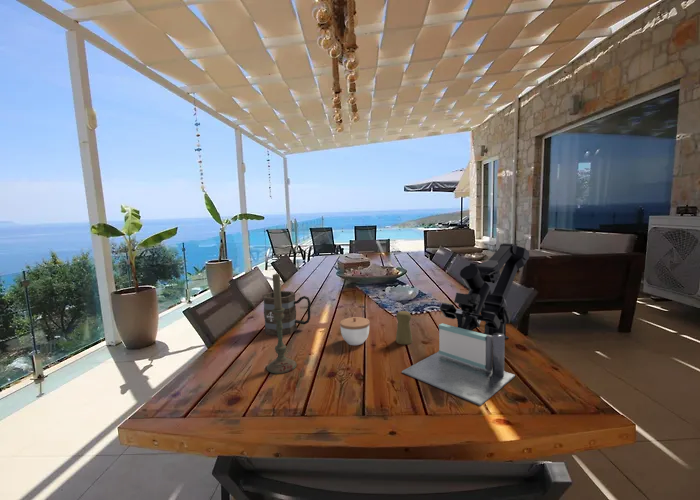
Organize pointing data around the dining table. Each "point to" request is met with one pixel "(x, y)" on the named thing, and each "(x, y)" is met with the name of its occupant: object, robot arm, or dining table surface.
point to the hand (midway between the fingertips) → (458, 338)
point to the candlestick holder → (279, 333)
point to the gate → (466, 346)
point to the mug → (289, 312)
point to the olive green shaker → (403, 328)
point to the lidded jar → (355, 330)
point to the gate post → (464, 374)
